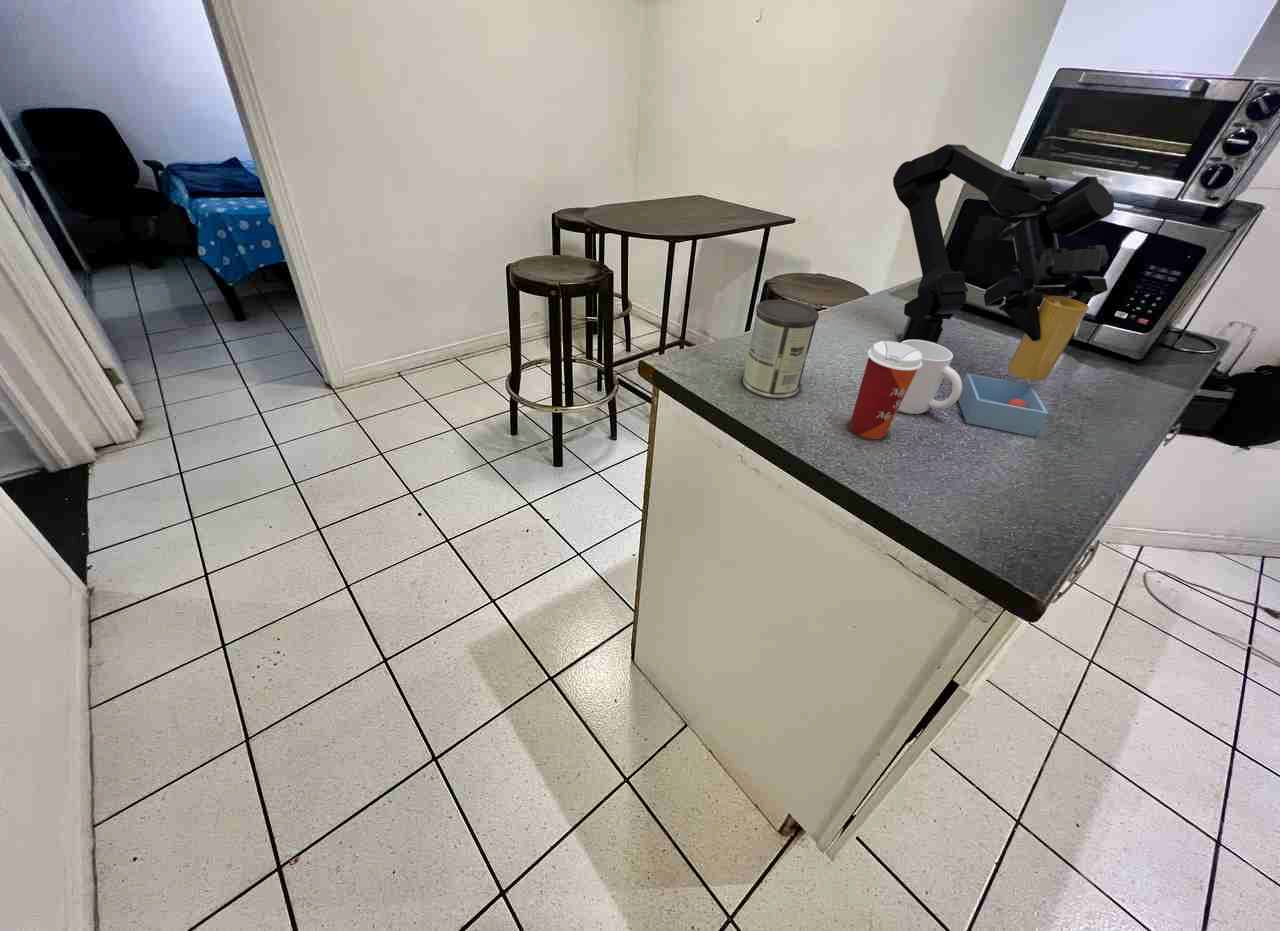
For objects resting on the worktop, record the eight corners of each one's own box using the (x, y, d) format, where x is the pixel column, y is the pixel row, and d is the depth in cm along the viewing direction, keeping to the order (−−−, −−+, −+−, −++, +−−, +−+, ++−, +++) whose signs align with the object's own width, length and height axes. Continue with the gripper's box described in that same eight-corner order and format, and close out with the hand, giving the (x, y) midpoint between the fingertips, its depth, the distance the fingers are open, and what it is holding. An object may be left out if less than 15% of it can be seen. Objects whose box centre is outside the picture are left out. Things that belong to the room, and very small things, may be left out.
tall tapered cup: (1007, 374, 91) (1046, 304, 83) (1006, 361, 95) (1042, 293, 88) (1048, 384, 89) (1091, 312, 81) (1045, 370, 93) (1085, 301, 85)
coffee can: (761, 366, 102) (777, 294, 93) (808, 385, 97) (830, 311, 88) (731, 383, 96) (744, 307, 87) (779, 404, 90) (799, 326, 82)
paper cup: (886, 448, 81) (921, 367, 73) (837, 432, 84) (865, 351, 76) (896, 426, 87) (929, 348, 78) (849, 412, 90) (876, 334, 81)
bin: (965, 423, 89) (977, 400, 86) (956, 394, 97) (966, 373, 94) (1034, 436, 87) (1048, 413, 84) (1018, 406, 95) (1031, 384, 92)
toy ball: (1006, 399, 92) (997, 409, 91) (1020, 392, 89) (1012, 403, 89) (1018, 411, 92) (1010, 421, 91) (1033, 404, 89) (1025, 415, 88)
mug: (958, 417, 90) (985, 362, 84) (932, 430, 86) (959, 374, 80) (896, 387, 98) (917, 335, 92) (870, 398, 94) (890, 345, 88)
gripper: (1033, 222, 79) (1051, 321, 77) (1133, 225, 82) (1153, 319, 81) (974, 260, 90) (989, 347, 88) (1065, 261, 93) (1081, 345, 91)
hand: (1053, 340), depth 87 cm, fingers closed on tall tapered cup, 6 cm apart
